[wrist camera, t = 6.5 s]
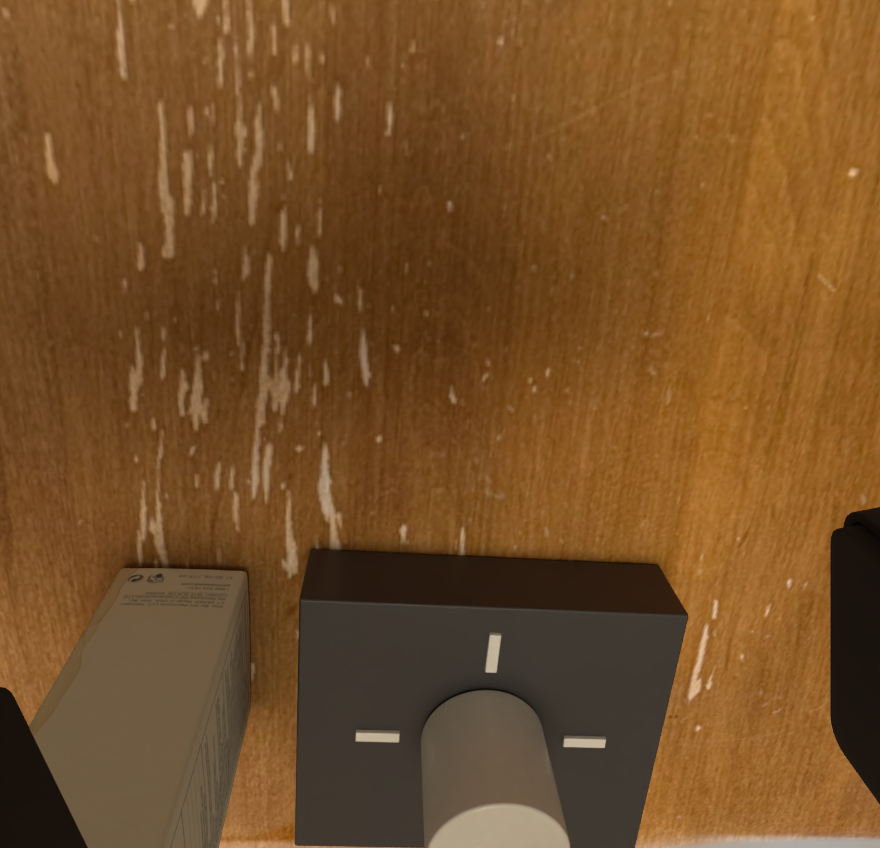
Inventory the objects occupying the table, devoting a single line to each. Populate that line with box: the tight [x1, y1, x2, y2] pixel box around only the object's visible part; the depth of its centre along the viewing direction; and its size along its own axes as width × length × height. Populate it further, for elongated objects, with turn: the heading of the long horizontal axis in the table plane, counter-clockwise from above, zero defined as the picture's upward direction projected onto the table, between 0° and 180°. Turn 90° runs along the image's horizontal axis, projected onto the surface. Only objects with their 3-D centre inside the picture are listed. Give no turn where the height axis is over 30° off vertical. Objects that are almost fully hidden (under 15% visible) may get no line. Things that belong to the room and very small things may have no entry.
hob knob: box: [421, 690, 570, 848], centre depth 23 cm, size 4×4×5 cm
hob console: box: [295, 549, 688, 848], centre depth 26 cm, size 12×10×3 cm
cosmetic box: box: [29, 568, 250, 848], centre depth 21 cm, size 6×4×12 cm
